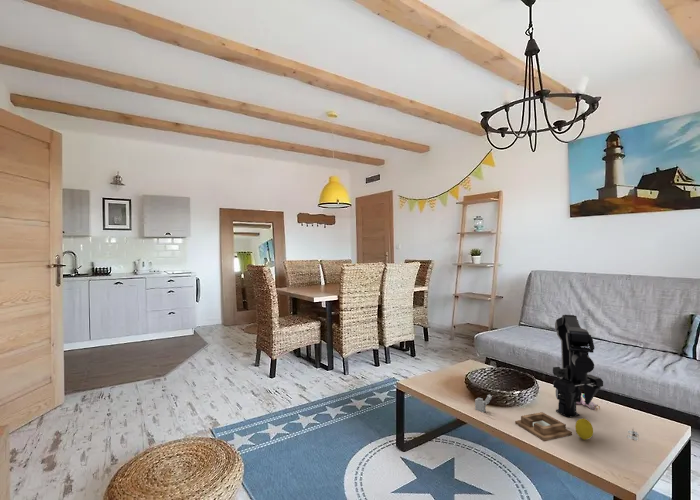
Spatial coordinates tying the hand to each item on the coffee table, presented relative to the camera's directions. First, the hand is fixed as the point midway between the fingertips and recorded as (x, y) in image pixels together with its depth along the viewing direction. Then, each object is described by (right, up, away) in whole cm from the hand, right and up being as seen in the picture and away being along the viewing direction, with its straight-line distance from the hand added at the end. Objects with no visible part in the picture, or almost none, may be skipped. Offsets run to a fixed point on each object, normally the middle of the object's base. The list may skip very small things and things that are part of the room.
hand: (578, 406), depth 134 cm
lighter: (-27, -12, +22) cm, 37 cm away
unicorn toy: (+20, -12, +30) cm, 38 cm away
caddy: (-9, -12, +7) cm, 17 cm away
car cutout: (+24, -13, +4) cm, 28 cm away
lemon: (+2, -12, -1) cm, 13 cm away
